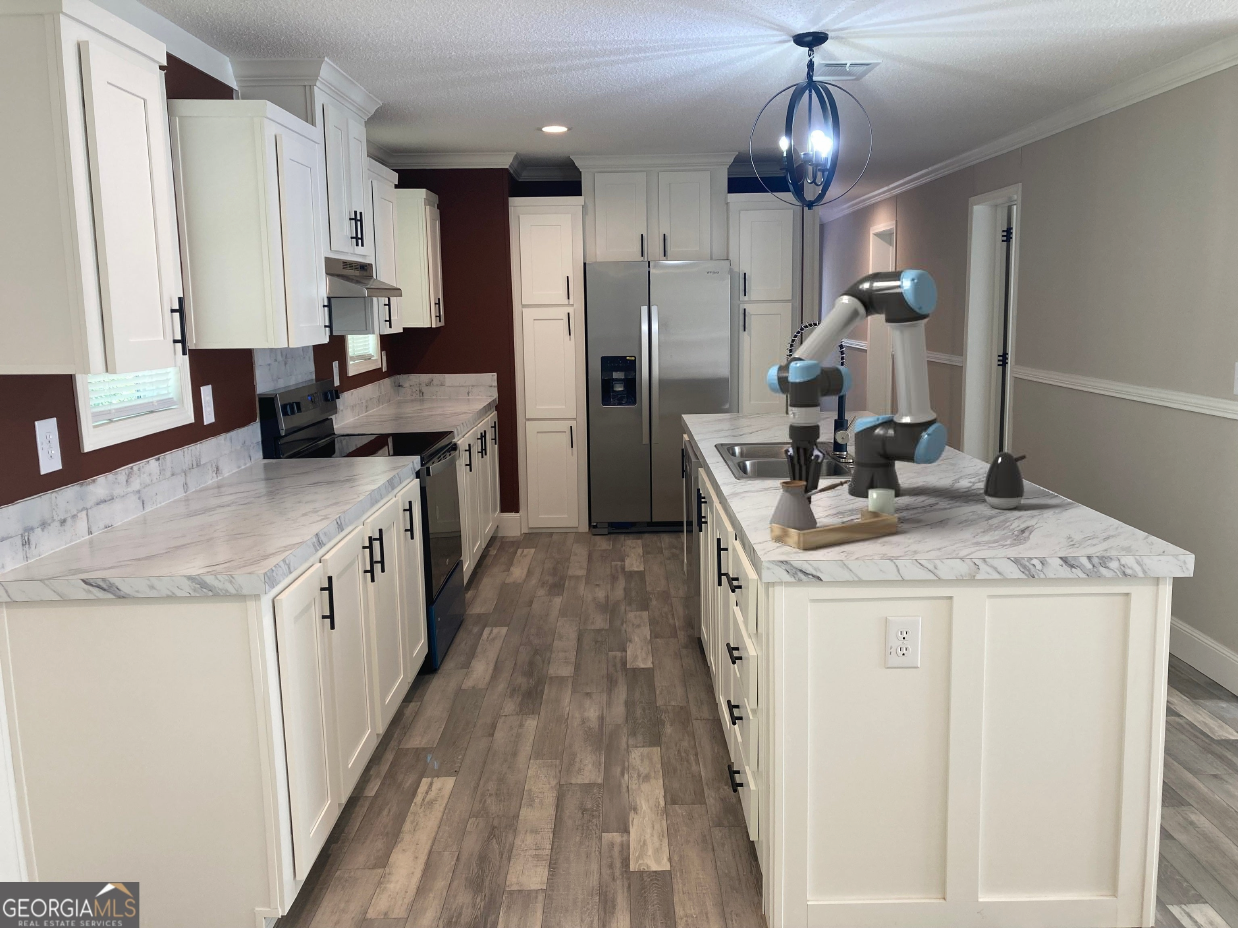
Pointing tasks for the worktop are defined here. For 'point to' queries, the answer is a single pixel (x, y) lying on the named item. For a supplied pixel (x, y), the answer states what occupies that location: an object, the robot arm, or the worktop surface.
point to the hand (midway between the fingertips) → (804, 516)
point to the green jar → (881, 500)
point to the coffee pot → (798, 505)
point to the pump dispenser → (1004, 482)
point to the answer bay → (837, 531)
